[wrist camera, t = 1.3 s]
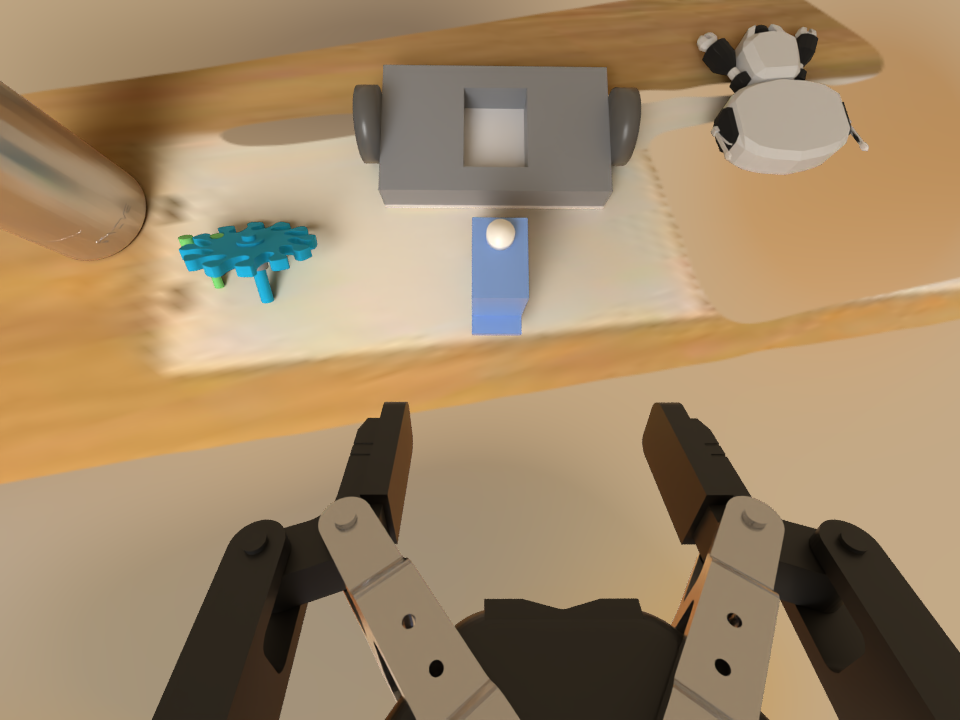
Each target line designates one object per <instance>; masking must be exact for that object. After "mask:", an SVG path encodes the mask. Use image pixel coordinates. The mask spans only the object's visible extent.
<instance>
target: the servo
mask: <svg viewBox="0 0 960 720" xmlns="http://www.w3.org/2000/svg"><path fill="white" fill-rule="evenodd" d="M528 299H529V270H528V218H482V217H472V335H521V315H522V313H523V311H524V308H525V306H526V304H527V302H528Z"/></svg>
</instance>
